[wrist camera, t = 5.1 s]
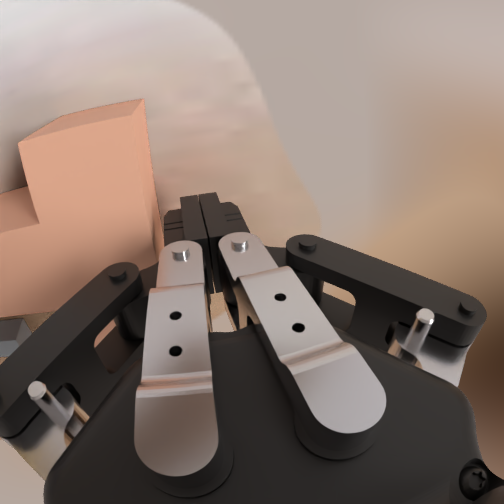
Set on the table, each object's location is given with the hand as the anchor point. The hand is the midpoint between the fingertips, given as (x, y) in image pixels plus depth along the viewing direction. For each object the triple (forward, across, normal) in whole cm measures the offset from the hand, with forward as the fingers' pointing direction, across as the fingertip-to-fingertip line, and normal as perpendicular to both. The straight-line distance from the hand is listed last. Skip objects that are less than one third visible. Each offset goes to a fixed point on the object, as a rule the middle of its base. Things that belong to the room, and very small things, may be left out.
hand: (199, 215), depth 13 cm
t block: (+3, +7, 0) cm, 7 cm away
